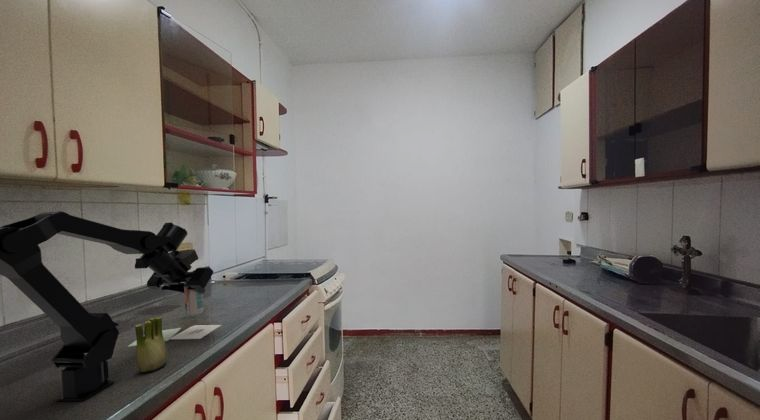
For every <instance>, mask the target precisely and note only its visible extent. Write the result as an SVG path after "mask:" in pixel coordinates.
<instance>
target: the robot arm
mask: <svg viewBox="0 0 760 420" xmlns="http://www.w3.org/2000/svg"><path fill="white" fill-rule="evenodd" d="M56 235H62V236H67V237H70V238H76V239H80V240H85V241H89V242H93V243H94V242H95V243H99V244H102V245H107V246H109V247H110V248H112V249H113V250H114V251H117V252H120V253H122V254H125V255H139V254H140V255H141V256H140V257H138V258H136V259H135V263H134V269H137V270H139V269H141V270H142V269H148V268H149V269H150V270H152V271H153V273H152V274H151V276H150V277H149V279H148V280H147V281H146V286H147V288H149V289H150V290H154V291H155V290H160V288H161V291H167V292H175V293H181V294H184V283H186V281H187V280H188V281H189V287H188V288H187V290H191V291H194V292H198V293H202V294H203V295H204V294H205V292H206V289H205V288H206V287H207V285H208V283H209V281H210V279H211V278H212V276H213V274H214V270H213V268H211V267H210V266H202V267H200V266H199V267H196V268H195V270H193V271H190V270H191V269H192V267H193V266H192V264H193V263H195V261H198V260H199V259H200V258H199V256H198V254H197V252H196V249H195V248H194V249H193V248H192V249H183V250H178V249H179V247H180V246H181V244H182V243H183V241H185V239H186V237H188V231H187V230H186V228H183V227H182V226H179V225H176V224H174V223H173V222H165V223H164V224H163V225H162V228H161V229H160V230H159V232H157V234H155V232H154V231H153V232H152V231H150V230H148V231H147V230H139V229H138V230H137V229H123V228H119V227H115V226H111V225H108V224H104V223H100V222H96V221H93V220H90V219H87V218H82V217H80V216H79V217H78V216H75V215H72V214H69V213H67V212H65V211H60V210H57V211H47V212H46V211H45V212H44V211H43V212H40V213H38V214H36V215H33V216H30V217H28V218H25V219H22V220H17V221H15V222H10V223H8V224H4V225H1V226H0V275H1V276H3V277H5V278H7V279H8V280H9V281H10V282H11V283H12V284H13V285H15V287H16V288H18V290H20V291H21V292H22V294H24V295H25V296H26V297H27V298H28V299H29V300H30V301H31V302H32V303H33V304H34V305H36V306H37V307H38V308H39V309H40V310H41V311H42V312H43V313H44V314H45V315H46V316H47V317H48V318H49V319H51V321H53V322H54V323H55V324H56V325H57V326H58V327H59V329H60V339H61V341H62V343H63V345H62V347H61V348H60V349H59V350H58V352H57V353H56V354H55V355H54V356H53V357H52V359H51V363H52V365H53V366H54V368H56V369H59V368H64V369H62V370H60V372H61V373H60V374H61V390H62V394H61V395H59V396H57V397H56V399H55V401H56V402H59V401H60V402H61V401H63V402H64V401H65V402H68V401H71V402H81V401H85V400H87V399H89V398H90V397H92V396H93V395H96V394H97V393H99V392H101V391H102V390H104V389H105V388H107V387H109V386H110V385H113V384H114V383H115V380H114V379H109V378H110V376H109V375H110V374H109V373H110V372H109V362H108V360H110V359H112V358H113V355H114V351H115V348H116V347H115V346H116V344H117V340H118V337H119V335H120V331H119V328H118V327H117V326H119V323H117V322H115V321H114V320H113V319H112V318H111V315H110V314H109V313H108V312H89V311H88V310H87V309H86V308H85V307H84V305H82V304H81V302H79V300H77V298H76V297H75V296H73V294H72V293H71V292H70V291H69V290H68V288H66V287H65V286H64V284H62V283H61V282H60V281H59V279H58V278H57V277H56V276H55V275H54V274H53V273H52V272H51V271H50V269H48V268H47V267H46V265H44V263H43V260H42V259H43V257H42V249H41V247H40V246H39V245H41V244H43V243H45V242H47V241H49V240H50V239H51V238H53V237H54V236H56Z"/></svg>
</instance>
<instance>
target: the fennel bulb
mask: <svg viewBox="0 0 760 420" xmlns="http://www.w3.org/2000/svg"><path fill="white" fill-rule="evenodd" d="M143 325H144V327H143ZM134 328H135V329H134V330H135V334H136V335H135V336H136V340H137V346H136V363H137V367H138V369H139V371H140V372H141V373H147V372H152V371H156V370H158V369H160V368H162V367H164V366H165V364H166V359H167V346H166V341H164V338H163V334H162V330H163V317H161V316H160V317H159V316H158V317H152V318H149V319H148V320H147V321H145V322H144V324H141V323H140V324H139V323H138V324H136V325H134ZM143 328H144V329H143Z"/></svg>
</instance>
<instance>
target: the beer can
mask: <svg viewBox="0 0 760 420" xmlns="http://www.w3.org/2000/svg"><path fill="white" fill-rule="evenodd" d="M188 287H189V281H188V280H187V281H186V283H184V293H183V294H184V307H185V311H184V312H185V315H187V316H191V317H192V316H193V317H194V316H197V315H200V314H201V313H203V312H204V298H203V297H204V296H203V295H204V294H202V293H198V292H194V291H191V290H187V288H188Z"/></svg>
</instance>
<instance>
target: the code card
mask: <svg viewBox="0 0 760 420" xmlns="http://www.w3.org/2000/svg"><path fill="white" fill-rule="evenodd" d="M221 326H222V324H203V325H201V324H199V325H195V324H194V325H192V326H190V327H188V328H186V329H185V330H183V331H181V332H179V333H176V334H175V335H174V336H173V337H172V338H170V339H169V340H173V341H174V340H200V339H203V338H204V337H205V336H207V335H208V334H210V333H212V332H213V331H215V330H217V329H218V328H220V327H221ZM169 340H168V341H169Z"/></svg>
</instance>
